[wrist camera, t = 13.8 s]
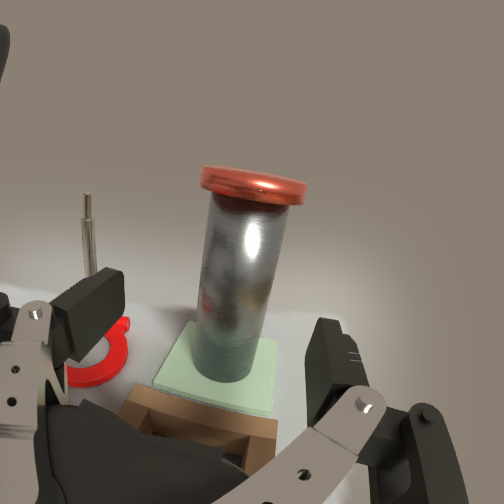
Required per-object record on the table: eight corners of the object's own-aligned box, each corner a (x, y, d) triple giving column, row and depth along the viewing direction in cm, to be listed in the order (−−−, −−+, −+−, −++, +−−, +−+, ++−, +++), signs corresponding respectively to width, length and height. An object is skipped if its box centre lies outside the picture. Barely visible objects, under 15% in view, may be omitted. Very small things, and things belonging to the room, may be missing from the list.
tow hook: (115, 402, 16) (139, 327, 24) (85, 237, 11) (138, 194, 19) (28, 374, 15) (67, 312, 23) (-19, 222, 10) (53, 188, 18)
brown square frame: (89, 507, 7) (71, 493, 6) (141, 409, 16) (136, 383, 15) (251, 556, 7) (263, 554, 6) (267, 442, 15) (277, 419, 14)
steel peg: (172, 377, 19) (186, 166, 14) (196, 330, 25) (216, 164, 20) (257, 397, 18) (313, 189, 13) (264, 346, 25) (303, 180, 19)
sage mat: (153, 386, 18) (153, 381, 18) (188, 325, 26) (188, 320, 26) (269, 416, 18) (271, 411, 17) (276, 345, 26) (277, 340, 26)
